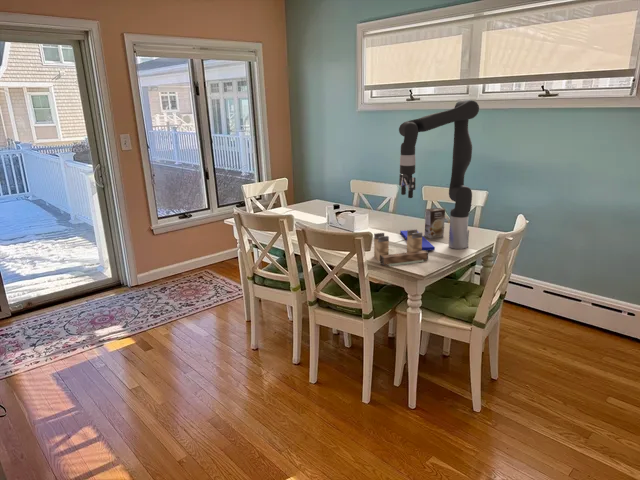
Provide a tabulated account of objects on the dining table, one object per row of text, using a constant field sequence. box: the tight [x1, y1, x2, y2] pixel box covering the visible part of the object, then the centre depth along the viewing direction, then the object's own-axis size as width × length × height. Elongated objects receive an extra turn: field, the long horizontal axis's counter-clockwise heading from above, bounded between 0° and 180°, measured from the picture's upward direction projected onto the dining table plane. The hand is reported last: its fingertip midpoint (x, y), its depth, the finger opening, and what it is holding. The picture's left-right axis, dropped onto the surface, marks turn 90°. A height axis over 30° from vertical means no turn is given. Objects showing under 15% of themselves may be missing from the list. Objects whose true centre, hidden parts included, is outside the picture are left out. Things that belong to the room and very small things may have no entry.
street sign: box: [400, 230, 436, 252], centre depth 249 cm, size 35×3×10 cm
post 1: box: [373, 232, 390, 262], centre depth 224 cm, size 5×7×12 cm
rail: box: [379, 250, 429, 266], centre depth 219 cm, size 24×4×4 cm, turn 103°
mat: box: [387, 260, 425, 267], centre depth 220 cm, size 18×7×1 cm, turn 103°
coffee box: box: [423, 207, 446, 239], centre depth 255 cm, size 9×6×16 cm
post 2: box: [406, 229, 423, 253], centre depth 227 cm, size 5×7×12 cm
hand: (406, 196), depth 223 cm, fingers open, 8 cm apart
